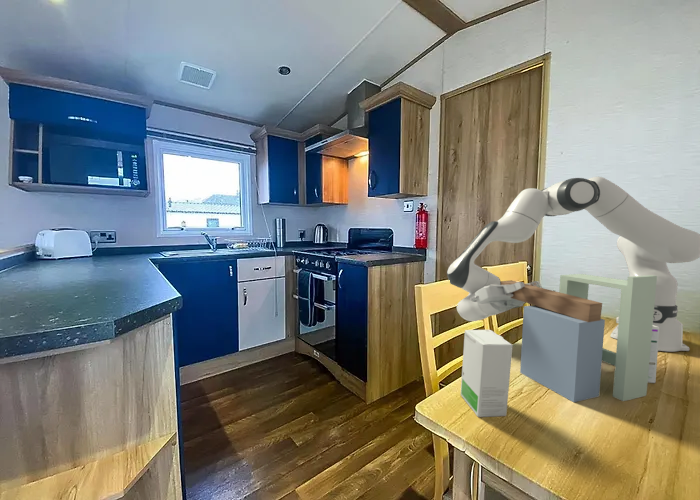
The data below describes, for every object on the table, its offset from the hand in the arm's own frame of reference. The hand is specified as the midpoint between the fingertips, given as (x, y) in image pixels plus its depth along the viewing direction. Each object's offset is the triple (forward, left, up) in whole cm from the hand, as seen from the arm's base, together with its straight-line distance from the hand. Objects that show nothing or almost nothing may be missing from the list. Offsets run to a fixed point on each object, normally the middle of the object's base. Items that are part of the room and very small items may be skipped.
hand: (530, 284), depth 80 cm
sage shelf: (-3, +15, -23) cm, 28 cm away
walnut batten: (+2, +3, -5) cm, 6 cm away
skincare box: (+26, -5, -24) cm, 36 cm away
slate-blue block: (+5, +7, -23) cm, 25 cm away
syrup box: (-12, +23, -24) cm, 35 cm away
